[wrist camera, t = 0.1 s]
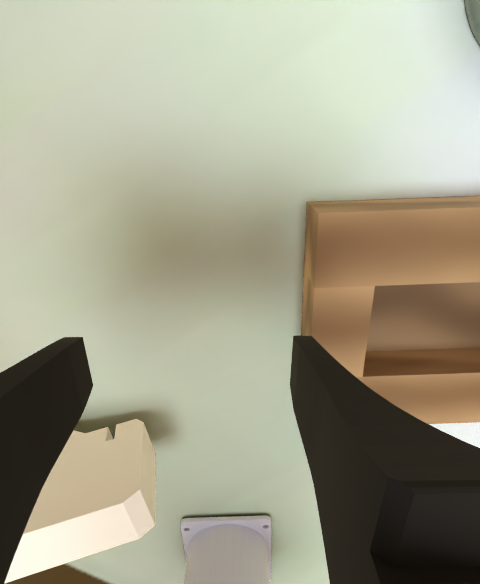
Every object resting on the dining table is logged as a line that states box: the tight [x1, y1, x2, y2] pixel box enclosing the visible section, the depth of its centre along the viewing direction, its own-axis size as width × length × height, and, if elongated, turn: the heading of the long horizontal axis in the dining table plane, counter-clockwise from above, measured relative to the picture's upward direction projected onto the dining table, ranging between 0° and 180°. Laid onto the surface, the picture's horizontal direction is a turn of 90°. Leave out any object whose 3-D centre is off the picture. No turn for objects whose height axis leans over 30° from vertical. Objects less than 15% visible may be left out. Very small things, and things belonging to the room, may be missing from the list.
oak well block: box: [301, 196, 480, 424], centre depth 21 cm, size 14×16×3 cm
